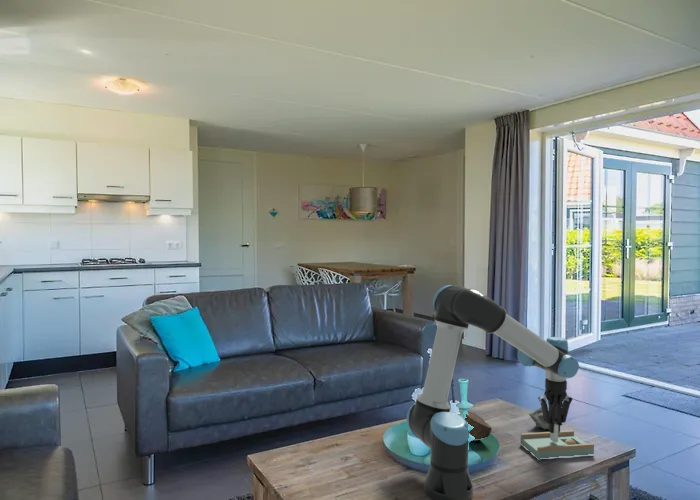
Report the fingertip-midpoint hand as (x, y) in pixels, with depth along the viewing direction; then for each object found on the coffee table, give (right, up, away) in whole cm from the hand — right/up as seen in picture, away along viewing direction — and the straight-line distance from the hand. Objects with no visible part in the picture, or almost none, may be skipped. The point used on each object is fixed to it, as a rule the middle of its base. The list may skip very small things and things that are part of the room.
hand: (554, 440), depth 187 cm
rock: (-28, -4, +10) cm, 30 cm away
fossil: (+4, -3, +22) cm, 23 cm away
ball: (+7, -2, +2) cm, 7 cm away
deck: (+1, -4, 0) cm, 4 cm away
